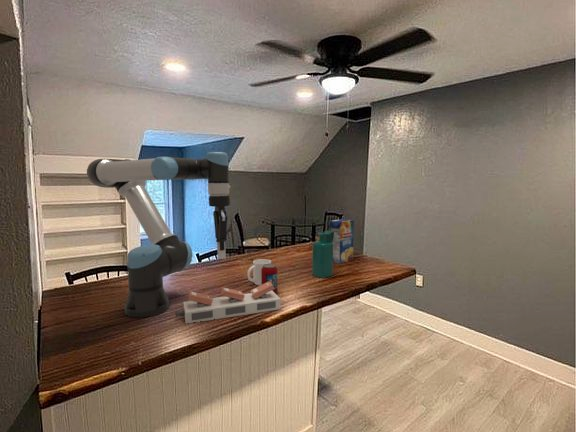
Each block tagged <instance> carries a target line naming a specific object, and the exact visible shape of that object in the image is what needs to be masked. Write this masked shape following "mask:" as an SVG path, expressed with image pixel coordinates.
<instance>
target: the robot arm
mask: <svg viewBox="0 0 576 432" xmlns="http://www.w3.org/2000/svg"><path fill="white" fill-rule="evenodd" d="M229 165H230V164H229V157H228V153H226V152H224V151H208V152H207V153H206V157H205V158H187V157H172V156H157V157H155V158H154V157H153V158H143V159H127V158H125V159H116V158H98V159H95V160H93V161H91V162H89V164H88V166H87V169H86V175H87V176H86V177H87V179H88V180H89V181H90V182H91V184H93V185H95V186H97V187H99V188H115V189H116V191H117V193H118V195H119V196H121V197H122V196H123V197H125V200H127V204H129V206H130V208H131V210H132V211H133V214H134V215H135V218H137V220H138V222H139V224H140V226H141V227H142V230H143V232H144V233H145V234H146V236H147V237H148V239H149V241H150V243H151V244H146V245H141V246H137V247H135V248H133V249H131V250H130V251H128V253H127V255H126V259H127V261H126V267H127V280H128V295H127V298H126V301H125V304H124V314H125V315H126V316H127V315H128V316H127V317H130V316H131V318H148V317H153V316H156V315H159V314H162V313H163V312H166V311H167V310H168V309H169V308H170V303H169V302H170V301H169V297H168V296H167V293H166V290H165V289H164V282H163V281H164V278H163V277H166V276H169V275H172V274H175V273H177V272H181V271H183V270H186V268H188V267H189V266H190V265H191V264H192V261H193V249H192V247H191V245H190V244H189V243H188V242H187V241H184V240H180V237H178V235H177V234H174V233H172V232H171V230H170V228H169V226H168V225H167V224H166V222H165V220H164V218H163V217H162V215H161V213H160V211H159V209H158V207H157V205H156V204H155V203H154V201H153V199H152V197H151V196H150V194H149V192H148V191H147V189H146V185H147V182H146V181H170V180H171V181H172V180H174V181H175V180H193V181H194V180H207V193H208V195H209V196H208V206H209V207H214V210H213V213H212V214H213V215H212V216H213V222H214V233H215V234H214V236H215V239H216V241H215V242H216V247H217V248H216V249H217V259H218V260H225V259H226V258H227V256H226V253H227V252H226V242H227V238H228V237H227V236H228V234H227V233H228V231H227V230H228V228H227V227H228V225H227V224H228V215H227V211H226V209H225V207H228V206H230V205H231V198H230V197H231V196H230V195H229V194H230V189H231V187H232V186H231V185H230V181H229V178H230V177H229V167H230V166H229Z"/></svg>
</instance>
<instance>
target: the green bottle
mask: <svg viewBox="0 0 576 432" xmlns="http://www.w3.org/2000/svg"><path fill="white" fill-rule="evenodd" d="M317 235H318V236H319V239H318V241H314V242H313V243H312V253H311V254H312V255H311V256H312V262H311V263H312V266H311V267H312V269H311V270H312V271H311V272H312V273H311V274H312V276H314V277H317V278H320V279H325V278H329V277H332V276H333V273H334V269H333V268H334V262H333V243H332V242H333V239H334V232H332V231H330V230H324V231H319V232H317Z"/></svg>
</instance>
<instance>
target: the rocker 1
mask: <svg viewBox="0 0 576 432" xmlns="http://www.w3.org/2000/svg"><path fill="white" fill-rule="evenodd" d="M212 298H213V297H212V295H211V294H205V293H200V292H196V291H192V290H191V291H190V290H189V291H188V294H187V299H188V301H194V302H199V303H204V304H209V305H211V304H212V301H213V299H212Z"/></svg>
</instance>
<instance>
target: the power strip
mask: <svg viewBox="0 0 576 432" xmlns="http://www.w3.org/2000/svg"><path fill="white" fill-rule="evenodd" d="M243 294H244V295H245V296H244V299H243V300H239V299H234V298H230V297H225V296H219V297H212V299H213V301H212V304H211V305H209V304H204V303H199V302H194V301H189V300H188V301H183V302H182V303H183V310H175V311H174V312H175V313H174V315H175V317H179V316H181V317H182V316H184V320H185V321H184V322H185V323H184V324H185V325H188V324H187V323H189V324H194V323H193V322H196V323H200V321H202V322H206V321H213V320H214V319H215V320H219V319H225V318H226V319H227V318H232V317H240V316H246V315H253V314H259V313H265V312H271V311H272V312H273V311H278V310H281V306H282V305H281V301H282V300H281V297H279V296H278V294H276V293H274V292H273V291H270V292H268V293H266V294H264V295H262V296H260V297H258V298H256V299H255V298H254V296H253V295H252V293H251V292H250V293H249V292H248V293H243Z"/></svg>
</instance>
